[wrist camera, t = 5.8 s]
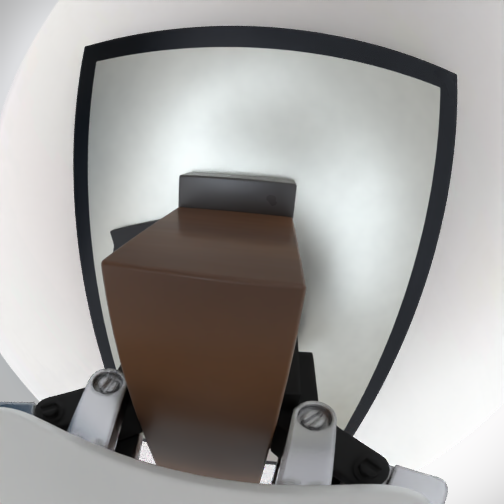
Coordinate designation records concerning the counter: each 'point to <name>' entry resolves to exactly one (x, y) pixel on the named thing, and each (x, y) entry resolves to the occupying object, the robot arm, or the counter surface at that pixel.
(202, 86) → the whiteboard
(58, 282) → the counter surface
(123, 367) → the eraser
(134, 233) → the scribble
